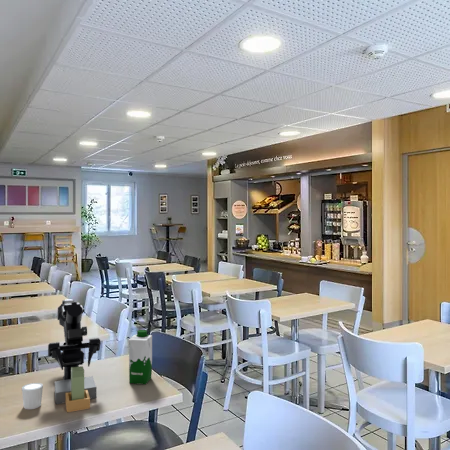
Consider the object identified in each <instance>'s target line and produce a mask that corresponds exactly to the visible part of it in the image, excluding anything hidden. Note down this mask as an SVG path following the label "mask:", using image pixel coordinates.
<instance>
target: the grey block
mask: <svg viewBox="0 0 450 450" xmlns="http://www.w3.org/2000/svg"><path fill="white" fill-rule="evenodd" d="M96 398H97V384H96V382H95V379H94V376H93V375H91V376H84V399H78V400H72V401H71V379H68V380H63V379H62V380H56V381H54V399H55V404H56V405H59V404H64V403H65V408H66V413H72V412H77V411H83V410H90V409H91V399H96Z"/></svg>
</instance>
